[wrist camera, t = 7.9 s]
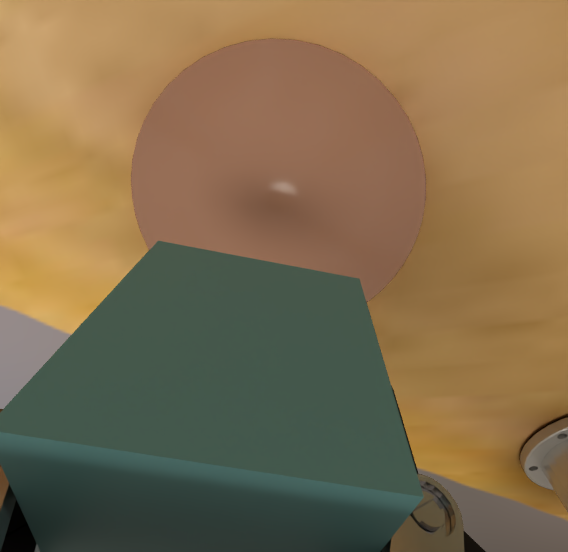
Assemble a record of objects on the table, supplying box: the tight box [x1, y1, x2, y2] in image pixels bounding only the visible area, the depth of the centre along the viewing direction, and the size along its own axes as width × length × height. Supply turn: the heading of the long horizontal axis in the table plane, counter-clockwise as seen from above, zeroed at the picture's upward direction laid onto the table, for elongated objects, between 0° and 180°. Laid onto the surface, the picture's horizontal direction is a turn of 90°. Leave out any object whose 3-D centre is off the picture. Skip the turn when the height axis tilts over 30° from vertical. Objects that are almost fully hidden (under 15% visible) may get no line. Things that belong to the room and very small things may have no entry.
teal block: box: [0, 241, 424, 552], centre depth 9 cm, size 6×6×6 cm
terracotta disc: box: [131, 39, 426, 302], centre depth 22 cm, size 19×19×1 cm
